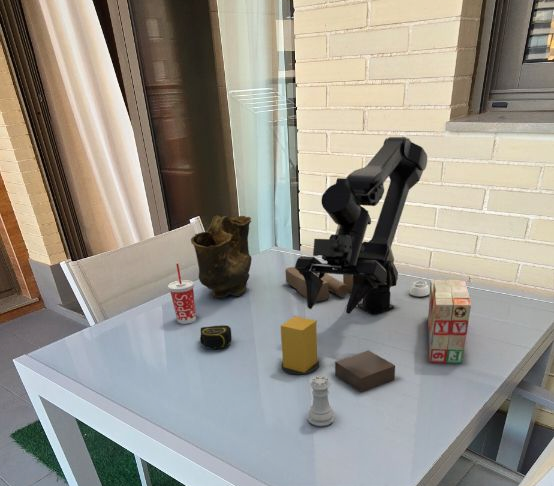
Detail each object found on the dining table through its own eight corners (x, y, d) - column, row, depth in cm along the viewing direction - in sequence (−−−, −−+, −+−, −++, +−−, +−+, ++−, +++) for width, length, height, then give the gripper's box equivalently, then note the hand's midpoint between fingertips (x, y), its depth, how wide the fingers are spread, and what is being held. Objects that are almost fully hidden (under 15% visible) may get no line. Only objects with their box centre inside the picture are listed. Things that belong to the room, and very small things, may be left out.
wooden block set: (314, 283, 131) (283, 264, 145) (314, 305, 135) (285, 284, 149) (373, 269, 137) (338, 252, 150) (373, 290, 140) (338, 272, 154)
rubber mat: (274, 364, 110) (274, 362, 110) (306, 353, 113) (306, 352, 113) (294, 379, 104) (294, 377, 104) (326, 367, 107) (326, 366, 107)
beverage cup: (169, 323, 131) (158, 266, 123) (182, 314, 136) (172, 258, 128) (191, 326, 129) (181, 268, 121) (203, 316, 133) (195, 259, 126)
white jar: (413, 289, 139) (406, 296, 135) (414, 278, 137) (407, 284, 134) (432, 292, 136) (425, 298, 133) (433, 280, 135) (426, 287, 131)
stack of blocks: (427, 319, 123) (432, 265, 116) (455, 319, 122) (462, 265, 115) (429, 363, 106) (435, 303, 99) (463, 364, 105) (471, 303, 98)
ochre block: (296, 357, 111) (294, 316, 106) (317, 362, 109) (316, 320, 104) (283, 367, 108) (280, 325, 103) (304, 372, 105) (302, 330, 100)
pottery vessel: (228, 275, 158) (219, 204, 147) (263, 276, 155) (257, 204, 144) (191, 307, 139) (179, 228, 128) (230, 310, 135) (221, 229, 124)
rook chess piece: (306, 414, 93) (304, 374, 89) (331, 412, 94) (331, 371, 89) (309, 429, 90) (308, 387, 85) (336, 426, 90) (336, 384, 85)
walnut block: (335, 375, 104) (335, 361, 103) (368, 363, 107) (368, 350, 106) (360, 392, 98) (360, 378, 97) (394, 379, 101) (395, 365, 100)
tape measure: (232, 337, 122) (230, 322, 120) (232, 350, 116) (230, 334, 114) (202, 340, 122) (199, 324, 120) (200, 353, 116) (198, 337, 114)
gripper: (291, 217, 107) (269, 292, 107) (374, 217, 96) (350, 301, 96) (318, 241, 116) (298, 310, 116) (397, 244, 105) (375, 320, 106)
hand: (328, 310), depth 108 cm, fingers open, 9 cm apart
